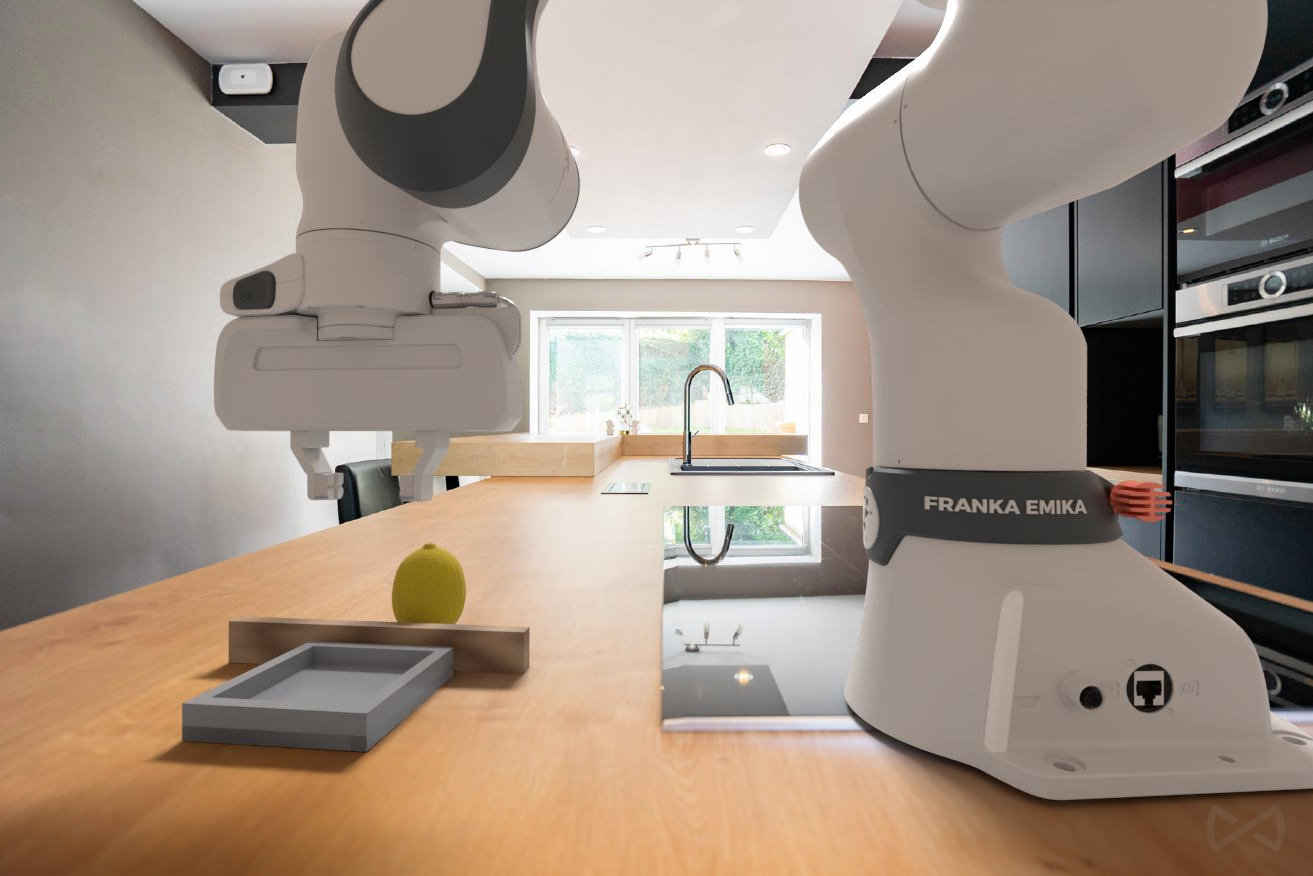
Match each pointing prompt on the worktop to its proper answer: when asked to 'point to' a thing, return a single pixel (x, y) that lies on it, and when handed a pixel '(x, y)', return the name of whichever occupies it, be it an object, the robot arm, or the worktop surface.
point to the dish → (320, 696)
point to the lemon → (429, 587)
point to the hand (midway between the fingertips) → (370, 500)
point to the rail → (383, 640)
